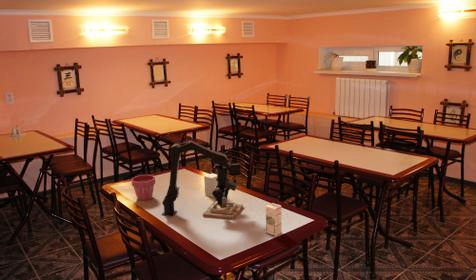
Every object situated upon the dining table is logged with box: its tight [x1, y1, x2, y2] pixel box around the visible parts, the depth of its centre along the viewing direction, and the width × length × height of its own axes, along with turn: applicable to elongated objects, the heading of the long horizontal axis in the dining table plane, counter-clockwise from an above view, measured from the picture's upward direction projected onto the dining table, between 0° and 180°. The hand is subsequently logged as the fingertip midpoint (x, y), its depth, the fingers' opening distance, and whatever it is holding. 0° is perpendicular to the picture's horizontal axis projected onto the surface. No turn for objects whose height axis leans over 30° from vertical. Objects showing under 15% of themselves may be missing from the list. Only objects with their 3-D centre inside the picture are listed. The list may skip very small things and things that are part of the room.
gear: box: [216, 197, 231, 210], centre depth 240 cm, size 8×8×6 cm
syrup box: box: [265, 202, 283, 237], centre depth 211 cm, size 6×6×14 cm
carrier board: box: [202, 201, 244, 220], centre depth 241 cm, size 18×18×4 cm
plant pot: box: [131, 174, 156, 201], centre depth 265 cm, size 14×14×13 cm
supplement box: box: [203, 173, 219, 198], centre depth 267 cm, size 7×7×13 cm
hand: (223, 202), depth 240 cm, fingers open, 9 cm apart
